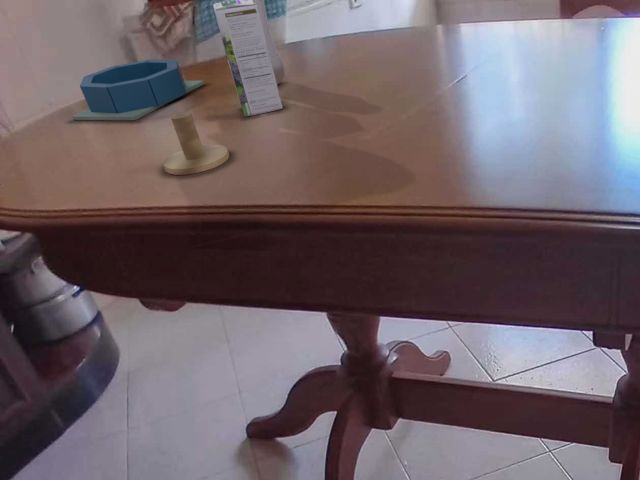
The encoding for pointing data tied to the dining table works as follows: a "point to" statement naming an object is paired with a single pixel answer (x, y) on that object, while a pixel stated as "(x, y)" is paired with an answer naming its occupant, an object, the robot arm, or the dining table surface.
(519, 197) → the dining table surface
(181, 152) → the dowel stand
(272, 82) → the syrup box
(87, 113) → the rubber mat
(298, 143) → the dining table surface
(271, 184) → the dining table surface
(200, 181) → the dining table surface
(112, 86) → the blue ring
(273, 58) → the plastic bottle
